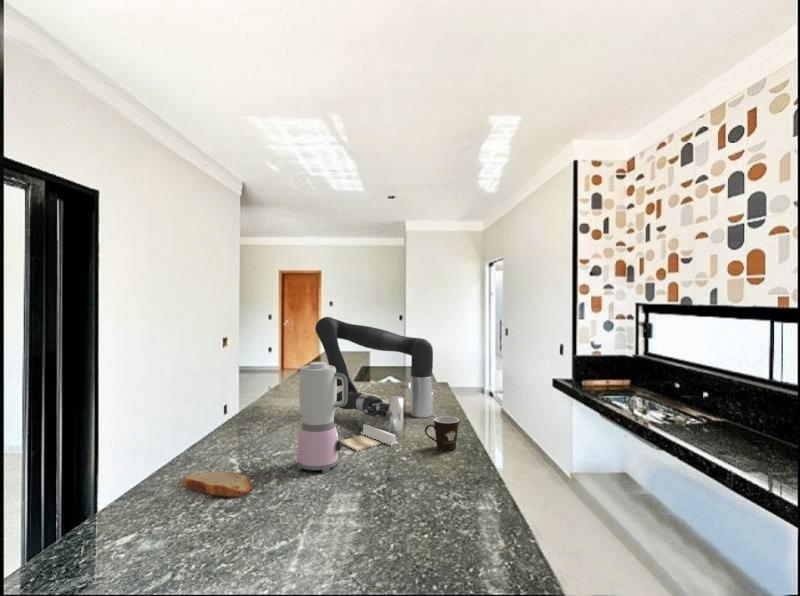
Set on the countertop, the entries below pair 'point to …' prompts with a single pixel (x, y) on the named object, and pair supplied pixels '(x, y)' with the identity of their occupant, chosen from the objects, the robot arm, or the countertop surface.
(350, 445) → the oak board
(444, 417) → the coffee mug
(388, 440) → the acrylic fence
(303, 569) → the countertop surface
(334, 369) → the blender
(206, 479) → the bread slice
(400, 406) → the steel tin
